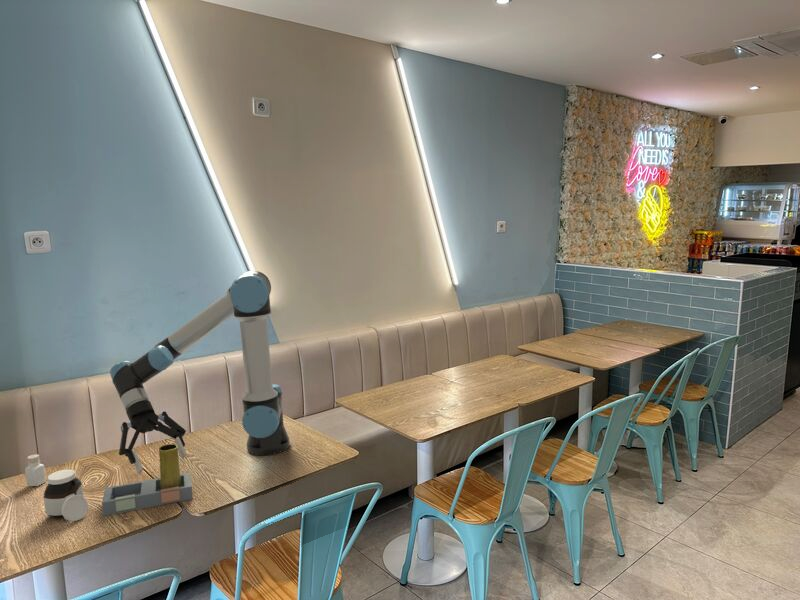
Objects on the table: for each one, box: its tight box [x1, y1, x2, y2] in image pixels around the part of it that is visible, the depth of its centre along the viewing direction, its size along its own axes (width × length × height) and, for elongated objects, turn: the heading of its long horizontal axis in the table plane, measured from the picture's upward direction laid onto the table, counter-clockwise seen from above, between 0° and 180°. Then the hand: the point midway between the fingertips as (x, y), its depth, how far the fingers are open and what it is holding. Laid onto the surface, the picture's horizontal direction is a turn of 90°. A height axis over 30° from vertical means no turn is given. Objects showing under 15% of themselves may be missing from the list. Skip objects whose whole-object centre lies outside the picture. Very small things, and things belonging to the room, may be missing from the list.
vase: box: [158, 443, 181, 489], centre depth 176 cm, size 6×6×14 cm
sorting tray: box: [101, 472, 193, 517], centre depth 174 cm, size 24×10×4 cm, turn 111°
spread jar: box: [43, 469, 89, 522], centre depth 166 cm, size 12×11×12 cm
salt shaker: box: [24, 453, 47, 487], centre depth 186 cm, size 4×4×10 cm
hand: (163, 464), depth 177 cm, fingers open, 13 cm apart
